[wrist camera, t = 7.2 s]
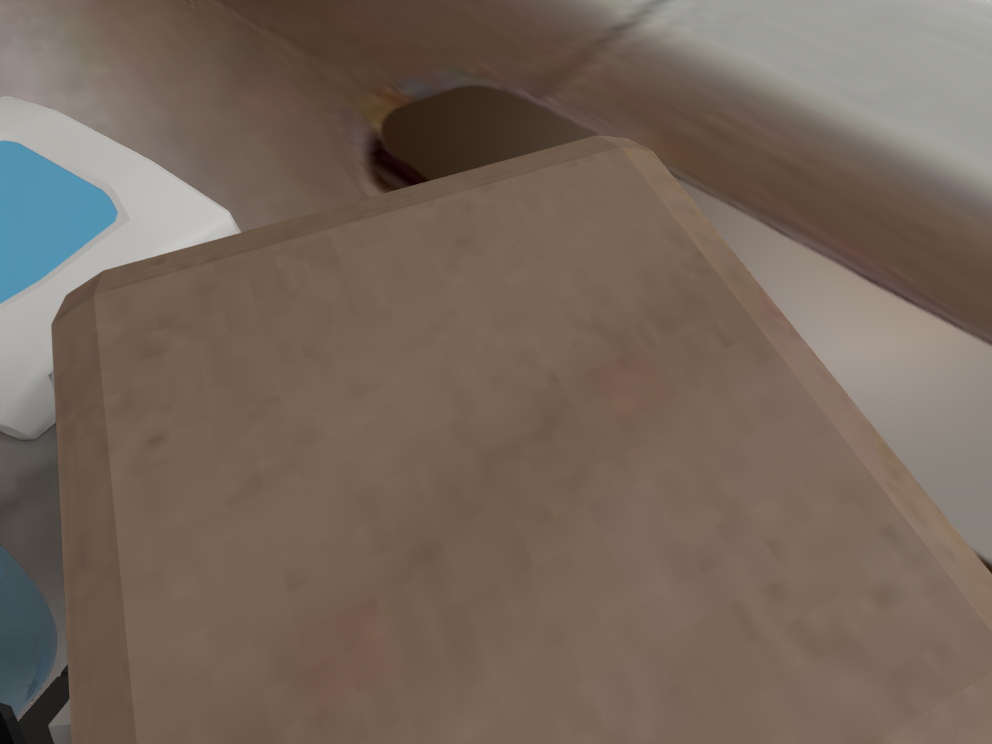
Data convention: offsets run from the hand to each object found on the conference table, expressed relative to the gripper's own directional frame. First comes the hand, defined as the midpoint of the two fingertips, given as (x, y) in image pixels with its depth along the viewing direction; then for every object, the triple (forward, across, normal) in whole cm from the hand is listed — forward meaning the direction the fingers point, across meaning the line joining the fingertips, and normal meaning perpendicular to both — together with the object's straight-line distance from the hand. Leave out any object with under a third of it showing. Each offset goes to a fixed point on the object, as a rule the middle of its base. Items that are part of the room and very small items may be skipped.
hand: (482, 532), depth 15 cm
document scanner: (+34, -36, +4) cm, 49 cm away
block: (+7, 0, -8) cm, 11 cm away
